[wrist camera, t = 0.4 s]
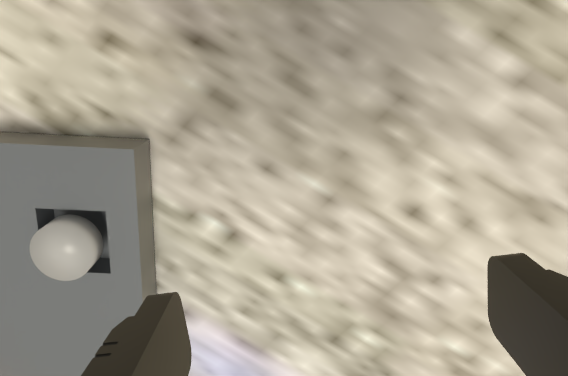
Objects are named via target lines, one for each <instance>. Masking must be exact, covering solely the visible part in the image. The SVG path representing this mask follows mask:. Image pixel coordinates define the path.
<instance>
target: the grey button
mask: <svg viewBox="0 0 568 376" xmlns="http://www.w3.org/2000/svg"><path fill="white" fill-rule="evenodd" d="M102 252H103V238H102V235H101V233H100V231H99V230H98V228H97V227H96V226H95V225H94V224H93V223H92V222H90V221H89V220H87V219H86V218H84V217H81V216H78V215H71V214H68V215H62V216H59V217H56V218H55V219H53V220H52V221H50V222H49V223H48V224H46V225H45V226H44V227H42V228H41V229H40V230H38V231H37V232H36V233H35V234H34V236H33V237H32V239H31V242H30V255H31V258H32V260H33V262H34V264H35V265H36V267H37V268H38V269H39V270H40V271H41V272H42V273H44V274H45V275H47V276H48V277H51V278H53V279H56V280H60V281H71V280H76V279H78V278H80V277H82V276H83V275H85V274H86V273H87V272H88V270H89V269H90V268H91V267H92V266H93V265H94V264H95V263H96V261H97V260H98V259H99V258H100V256H101V254H102Z"/></svg>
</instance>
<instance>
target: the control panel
mask: <svg viewBox="0 0 568 376" xmlns="http://www.w3.org/2000/svg"><path fill="white" fill-rule="evenodd" d="M68 214H71V215H78V216H81V217H84V218H86V219H87V220H89V221H90V222H92V223H93V224H94V225H95V226H96V227H97V228H98V230H99V231H100V233H101V235H102V238H103V252H102V254H101V256H100V258H99V259H98V260H97V261H96V263H95V264H94V265H93V266H92V267H91V268H90V269H89V270H88V272H87V273H86V274H85V275H83V276H82V277H80V278H78V279H76V280H71V281H60V280H56V279H53V278H51V277H48V276H47V275H45V274H44V273H42V272H41V271H40V270H39V269H38V268H37V267H36V265H35V264H34V262H33V260H32V258H31V255H30V242H31V239H32V237H33V236H34V234H35V233H36V232H37V231H38V230H40V229H41V228H42V227H44V226H45V225H46V224H48V223H49V222H50V221H52V220H53V219H55V218H56V217H59V216H62V215H68ZM155 294H157V293H156V272H155V250H154V229H153V207H152V186H151V165H150V143H149V139H135V138H115V137H94V136H74V135H53V134H32V133H12V132H0V376H81V375H82V373H83V372H84V370H85V369H86V367H87V366H88V364H89V363H90V361H91V360H92V358H95V354H96V352H97V351H98V349H99V348H100V346H103V342H104V341H105V339H106V338H107V336H108V335H109V333H110V332H111V330H112V329H113V328H114V327H116V326H117V325H118V324H119V323H121V322H122V321H123V320H124V319H126V318H127V317H130V316H135V314H136V313H137V311H138V309H139V308H140V306H141V305H142V303H143V301H144V300H145V298H146V297H147V296H148V295H155Z"/></svg>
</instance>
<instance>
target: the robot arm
mask: <svg viewBox="0 0 568 376" xmlns="http://www.w3.org/2000/svg"><path fill="white" fill-rule="evenodd" d="M488 317H489V322H490V325H491V328H492V331H493V333H494V335H495V336H496V338H497V339H498V340H499V342H500V343H501V344H502V345H503V347H504V348H505V349H506V351H507V352H508V353H509V354H510V356H511V357H512V358H513V359H514V361H515V362H516V363H517V364H518V366H519V367H520V368H521V370H522V371H523V372H524V373H525V375H526V376H568V277H566V276H564V275H561V274H559V273H556V272H554V271H552V270H545V269H544V268H543V267H541V266H540V265H539V264H537V263H536V262H535V261H533V260H532V259H531V258H530V257H528V256H527V255H525V254H524V253H518V254H509V255H501V256H492V257H491V258H490V259H489V261H488ZM190 366H191V345H190V340H189V335H188V330H187V326H186V321H185V316H184V312H183V307H182V302H181V299H180V296H179V294H178V293H177V292H173V293H164V294H155V295H148V296H147V297H146V298H145V300H144V301H143V303H142V305H141V306H140V308H139V309H138V311H137V313H136V314H135V316H130V317H127V318H126V319H124V320H123V321H122V322H121V323H119V324H118V325H117V326H116V327H114V328H113V329H112V330H111V332H110V333H109V335H108V336H107V338H106V339H105V341H104V342H103V346H100V348H99V349H98V351H97V352H96V354H95V358H92V360H91V361H90V363H89V364H88V366H87V367H86V369H85V370H84V372H83V373H82V375H81V376H188V374H189V371H190Z"/></svg>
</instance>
